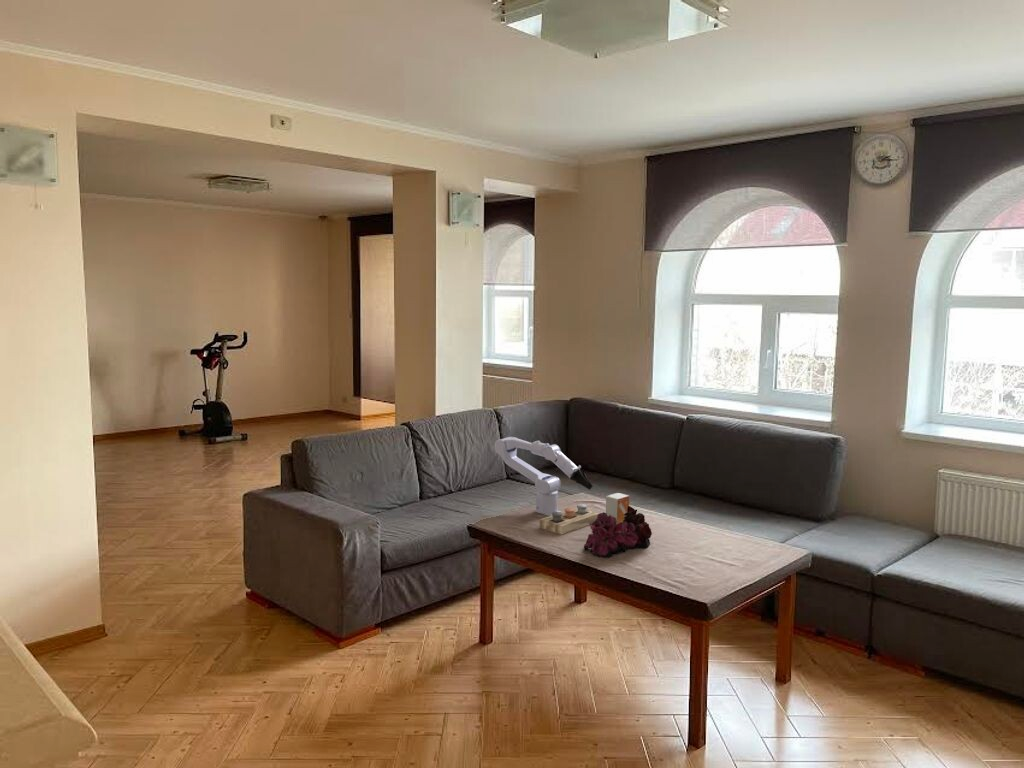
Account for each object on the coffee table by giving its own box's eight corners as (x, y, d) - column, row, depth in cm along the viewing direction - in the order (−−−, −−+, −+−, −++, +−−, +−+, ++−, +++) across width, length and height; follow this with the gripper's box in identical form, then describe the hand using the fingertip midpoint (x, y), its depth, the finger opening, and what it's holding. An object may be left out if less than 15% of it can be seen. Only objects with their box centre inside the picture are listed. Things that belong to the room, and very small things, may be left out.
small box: (616, 529, 305) (617, 499, 303) (604, 526, 310) (605, 496, 308) (629, 525, 311) (629, 495, 309) (617, 522, 315) (617, 492, 314)
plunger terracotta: (562, 517, 311) (562, 509, 311) (569, 515, 314) (569, 507, 314) (570, 519, 308) (570, 511, 308) (577, 517, 311) (577, 509, 311)
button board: (539, 527, 308) (539, 519, 307) (577, 515, 324) (577, 507, 324) (561, 534, 299) (561, 526, 299) (598, 521, 316) (598, 513, 315)
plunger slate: (574, 513, 317) (574, 505, 316) (581, 511, 320) (581, 503, 320) (582, 515, 314) (582, 507, 313) (589, 513, 317) (589, 505, 316)
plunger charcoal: (549, 521, 306) (549, 513, 305) (556, 519, 309) (556, 511, 308) (557, 524, 303) (557, 515, 302) (564, 521, 306) (564, 513, 305)
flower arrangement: (621, 532, 303) (621, 496, 301) (663, 543, 290) (664, 506, 288) (574, 552, 280) (574, 513, 278) (617, 565, 267) (618, 525, 265)
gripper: (568, 455, 313) (591, 476, 308) (576, 461, 326) (598, 482, 321) (557, 468, 313) (580, 489, 308) (566, 473, 327) (588, 494, 321)
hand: (589, 486), depth 314 cm, fingers open, 7 cm apart
